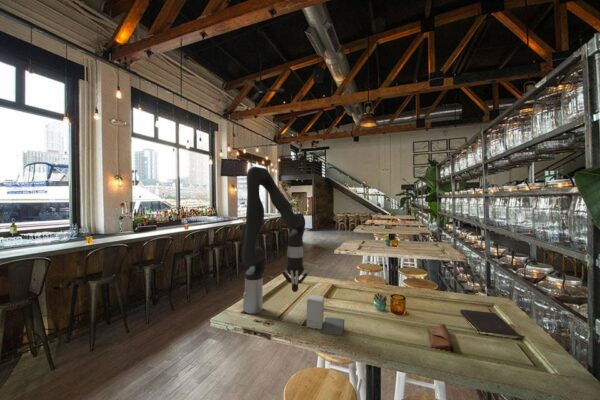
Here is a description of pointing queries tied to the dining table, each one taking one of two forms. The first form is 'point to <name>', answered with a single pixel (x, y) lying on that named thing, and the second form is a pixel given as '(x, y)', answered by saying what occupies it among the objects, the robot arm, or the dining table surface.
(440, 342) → the sunglasses case
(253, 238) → the robot arm
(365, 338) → the dining table surface
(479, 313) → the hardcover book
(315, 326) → the supplement box
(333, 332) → the dark grey rectangular panel
